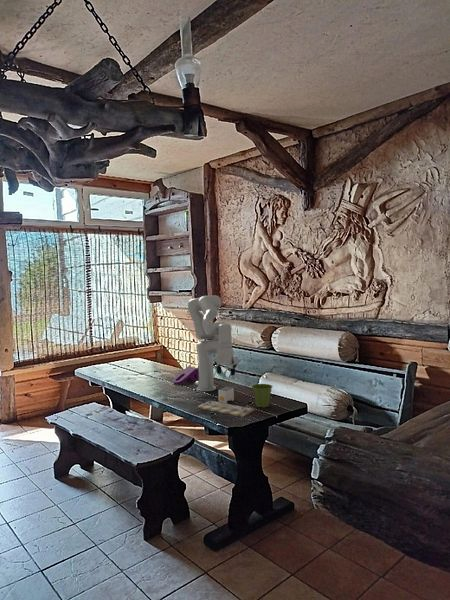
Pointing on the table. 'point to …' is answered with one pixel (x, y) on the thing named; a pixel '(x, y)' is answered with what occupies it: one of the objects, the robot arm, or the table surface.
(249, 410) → the rail board
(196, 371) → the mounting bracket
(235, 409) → the rail
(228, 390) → the box
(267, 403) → the plant pot
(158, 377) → the table surface
